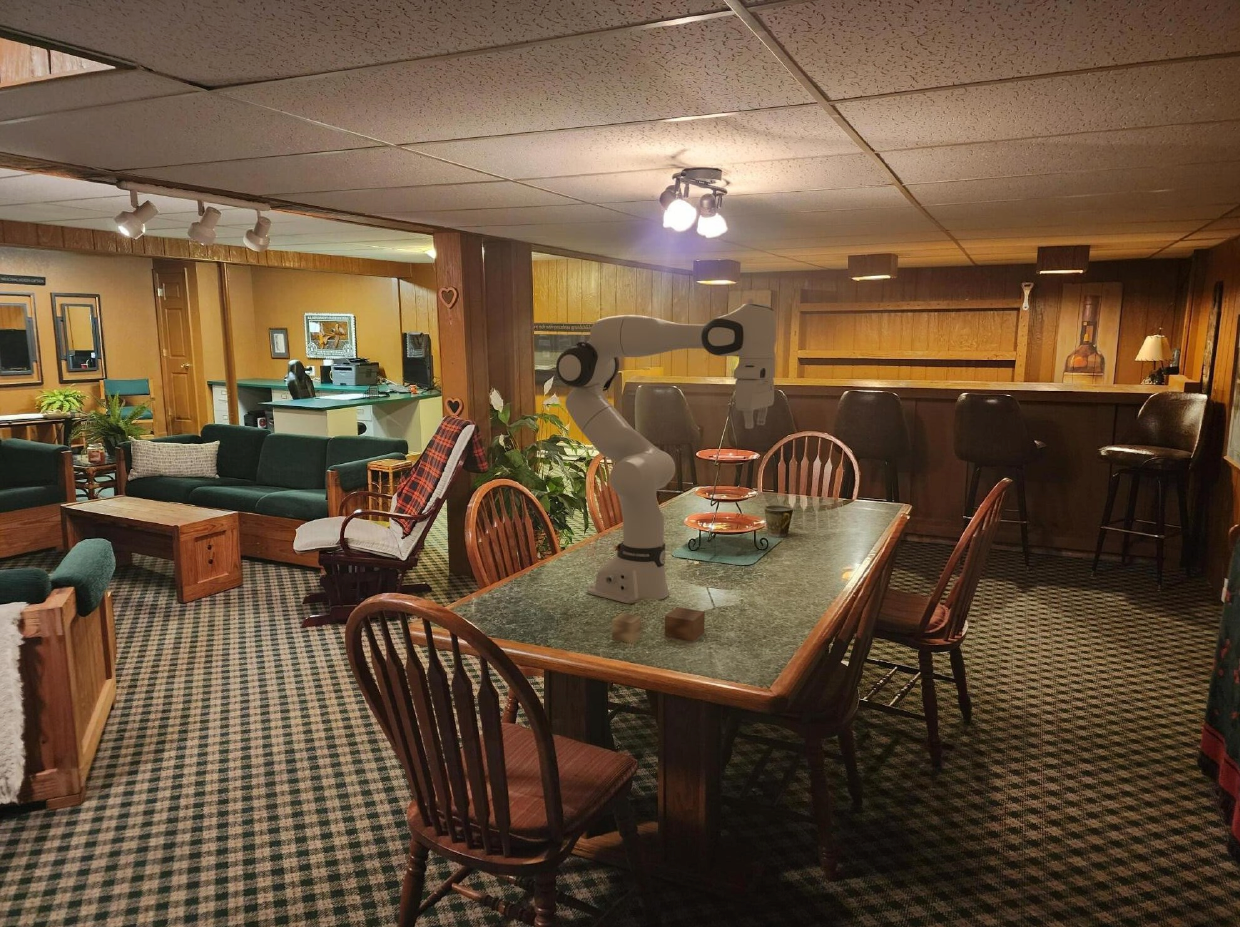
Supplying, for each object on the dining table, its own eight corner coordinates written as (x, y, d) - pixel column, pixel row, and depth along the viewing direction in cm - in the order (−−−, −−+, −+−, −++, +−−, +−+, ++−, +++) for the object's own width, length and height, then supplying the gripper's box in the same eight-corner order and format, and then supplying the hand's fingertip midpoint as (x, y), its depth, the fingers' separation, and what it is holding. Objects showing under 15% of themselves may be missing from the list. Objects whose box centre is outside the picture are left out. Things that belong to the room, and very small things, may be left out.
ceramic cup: (758, 532, 289) (759, 505, 288) (783, 531, 292) (784, 504, 291) (776, 541, 277) (777, 513, 276) (801, 539, 280) (802, 511, 279)
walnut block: (664, 636, 184) (665, 615, 184) (676, 627, 190) (676, 606, 190) (693, 641, 181) (693, 620, 180) (704, 632, 187) (704, 611, 187)
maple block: (612, 644, 183) (612, 619, 182) (622, 637, 187) (622, 613, 186) (631, 648, 181) (631, 623, 180) (641, 641, 185) (641, 616, 184)
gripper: (757, 368, 207) (755, 422, 209) (731, 371, 188) (729, 429, 191) (781, 369, 204) (779, 423, 206) (757, 372, 186) (755, 431, 188)
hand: (755, 426), depth 198 cm, fingers open, 8 cm apart
